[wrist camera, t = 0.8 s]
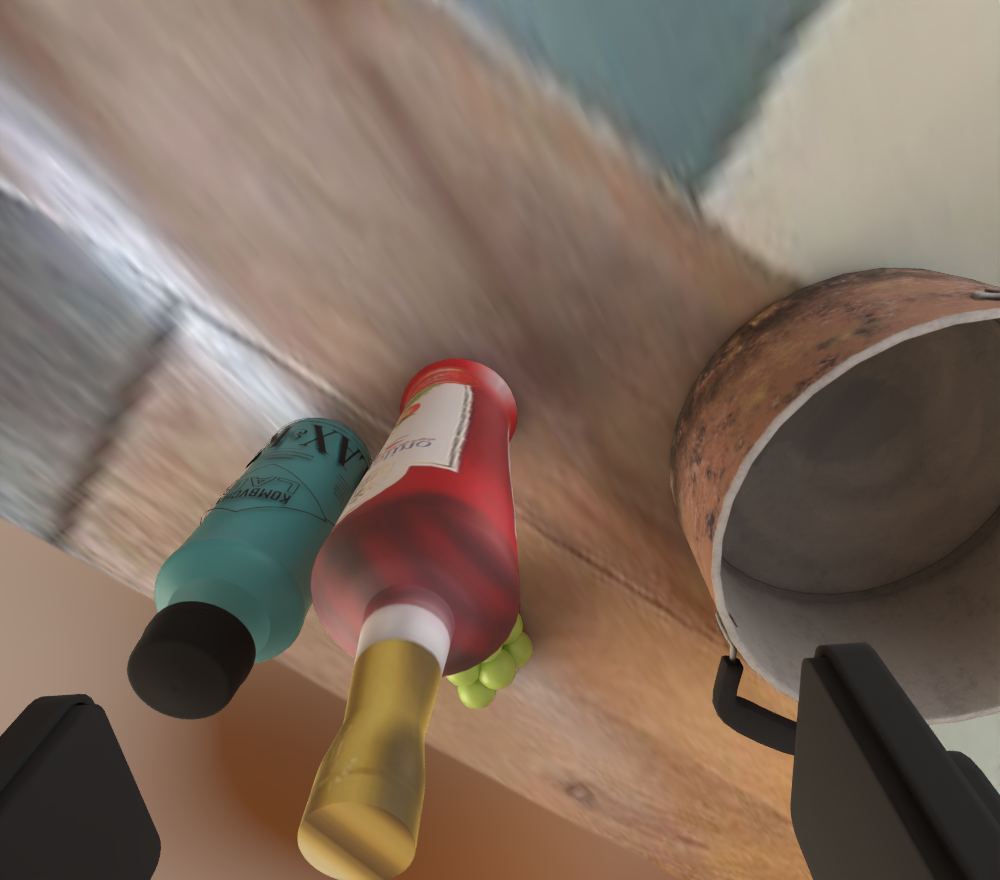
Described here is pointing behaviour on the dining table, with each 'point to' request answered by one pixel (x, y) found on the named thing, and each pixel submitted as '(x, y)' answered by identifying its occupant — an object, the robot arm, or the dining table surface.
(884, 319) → the cooking pot
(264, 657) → the beverage bottle
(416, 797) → the liquor
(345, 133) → the dining table surface
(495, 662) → the grapes
